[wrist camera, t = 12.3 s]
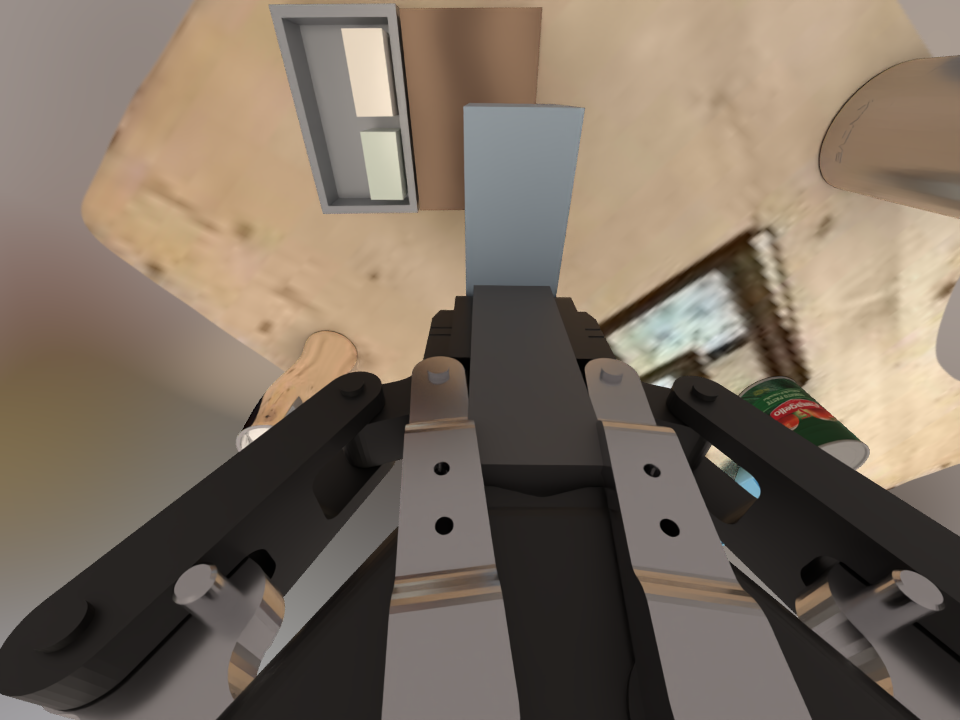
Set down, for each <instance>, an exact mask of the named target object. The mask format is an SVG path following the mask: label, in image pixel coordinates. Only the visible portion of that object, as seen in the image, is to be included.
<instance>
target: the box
mask: <svg viewBox="0 0 960 720" xmlns="http://www.w3.org/2000/svg"><path fill="white" fill-rule="evenodd" d="M269 9H270V12H271V16H272V20H273V24H274V28H275V31H276V35H277V39H278V43H279V47H280V51H281V54H282V58H283V62H284V66H285V70H286V74H287V77H288V81H289V85H290V89H291V93H292V97H293V100H294V104H295V108H296V112H297V116H298V120H299V123H300V127H301V131H302V135H303V139H304V143H305V146H306V150H307V154H308V158H309V162H310V166H311V169H312V173H313V177H314V181H315V185H316V188H317V192H318V196H319V200H320V204H321V208H322V211H323V214H347V213H418V211H419V209H420V204H419V194H418V184H417V175H416V165H415V155H414V146H413V136H412V126H411V117H410V107H409V97H408V88H407V78H406V68H405V59H404V49H403V40H402V30H401V20H400V11H399V8H398V6H397V5H396V4H275V5H269ZM341 28H382V29H383V30H385V31H386V32H387V33H388V34H389V35H390V44H391V52H392V61H393V69H394V77H395V86H396V94H397V102H398V111H399V115H397V116H376V117H357V115H356V110H355V104H354V98H353V93H352V87H351V82H350V76H349V70H348V65H347V59H346V54H345V48H344V42H343V37H342V31H341ZM371 128H401V136H402V144H403V153H404V161H405V169H406V178H407V186H408V193H407V195H406V196H405V198H404V199H403V200H371V195H370V189H369V183H368V177H367V171H366V165H365V159H364V153H363V147H362V141H361V135H360V132H361V131H364V130H367V129H371Z"/></svg>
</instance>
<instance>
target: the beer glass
mask: <svg viewBox="0 0 960 720" xmlns="http://www.w3.org/2000/svg"><path fill="white" fill-rule="evenodd" d="M356 361H357V351H356V349H355V347H354V345H353V344H352V343H351V341H350V340H348V339H347V338H346V337H344V336H343V335H341V334H338V333H336V332H331V331H320V332H316V333H314V334H312V335H311V336H310V337H309V338H308V339H307V341H306V343H305V345H304V349H303V352H302V354H301V356H300V358H299V359H298V360H297V362H296V363H294V364H293V365H292V366H291V367H290V368H289V369H288V370H287V371H286V372H285V373H283V374H282V376H280V377H279V378H278V379H277V380H276V381H275V382H274V383H273V384H272V385H271V386H270V387H269V388H268V389H267V390H266V392H265V393H264V394H263V396H262V397H261V398H260V400H259V401H258V403H257V404H256V406H255V407H254V409H253V411H252V412H251V414H250V416H249V417H248V419H247V421H246V423H245V425H244V427H243V428H242V430H241V432H240V433H239V434H238V436H237V438H236V447H237V449H238V451H239V452H240V451H241V450H242V449H244V448H245V447H246V446H248V445H249V444H250V443H252V442H253V441H254V440H255V439H257V438H258V437H259V436H261V435H262V434H263V433H265V432H266V431H267V430H269V429H270V428H271V427H272V426H274V425H275V424H276V423H278V422H279V421H280V420H282V419H283V418H284V417H286V416H287V415H288V414H289V413H291V412H292V411H293V410H295V409H296V408H297V407H299V406H300V405H301V404H303V403H304V402H305V401H307V400H308V399H309V398H310V397H312V396H313V395H314V394H316V393H317V392H318V391H320V390H321V389H322V388H324V387H325V386H326V385H327V384H329V383H330V382H331V381H333V380H334V379H336V378H338V377H339V376H342V375H344V374H347V373H348V372H349V371H350V370H351V369H352V368H353V366H354V365H355V363H356Z"/></svg>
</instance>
